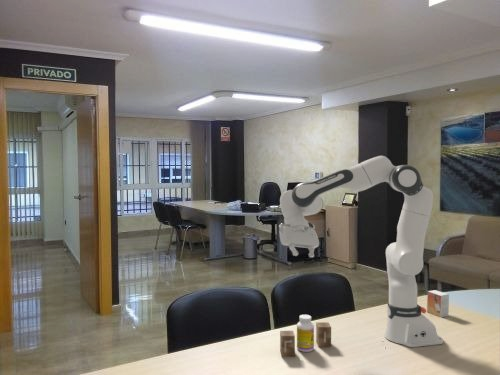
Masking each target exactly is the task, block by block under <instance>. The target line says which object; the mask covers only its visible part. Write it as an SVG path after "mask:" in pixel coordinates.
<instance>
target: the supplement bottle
mask: <svg viewBox="0 0 500 375" xmlns="http://www.w3.org/2000/svg"><path fill="white" fill-rule="evenodd" d="M314 331H315V324H314V323H313V322H312V316H311V315H309V314H300V315H299V321H298V322H297V324H296V349H297V350H298V351H300V352H304V353H310V352H312V351H314V349H315V348H314V347H315V332H314Z"/></svg>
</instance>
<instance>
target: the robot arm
mask: <svg viewBox="0 0 500 375" xmlns="http://www.w3.org/2000/svg"><path fill="white" fill-rule="evenodd" d="M384 182H385V183H386V184H387V185H388V186H389V187H390V188H391V189H392V190H394V191H397V192H398V193H399V192H400V193H402V194H403V197H404V199H403V200H404V201H403V204H402V209H401V212H400V216H399V220H398V223H397V226H396V232H397V233H396V241H395V242H391V243H390V244H388V245H387V247H386V248H385V259H386V272H387V279H388V302H387V307H386V309H387V324H386V328H385V331H384V337H385V338H386V339H387V340H388V341H390V342H392V343H396V344H399V345H404V346H405V347H408V348H418V347H423V346H424V347H427V346H435V345H442V344H444V339H443V337H442V336H441V335H440V334H439V333H438V332H437V331H438V330H437V328H436V325H435V324H434V322H432V321H431V320H430V319H429V318H427V317H426V316H425V315H424V314H426V313H427V308H425V307H422V306H421V305H419V304H418V284H417V281H416V276H417V275H418V274H420V273H421V272H422V270H423V268H424V251H425V250H424V249H425V239H426V233H427V229H428V225H429V223H430V218H431V214H432V210H433V203H434V193H433V191H432V190H431V189H430V188H428V187H426V186H424V184H423V181H422V178H421V174H420V172H419V170H418V169H417V168H416V167H415V166H413V165H411V164H401V165H397V166H396V165H394V164H393V163H392V161H391V160H390V159H389V158H388V157H387V156H385V155H377V156H374V157H372V158H368V159H367V160H366V159H365V160H364V161H361V162H360V163H357V164H355V165H353V166H351V167H348V168H345V169H342V170H341V169H340V170H337V171H334V172H332V173H329V174H327V175H325V176H323V177H320V178H318V179H315V180H311V181H305V182H304V181H303V182H299V183H298V184H296V185H295V187H294V188H293V189H289V190H286V191H284V192H283V193H282V194H281V195H280V198H279V204H280V210H281V214H282V215H283V218H284V219H283V222H284V223H280V224H279V225H278V229H279V231H278V232H279V240H280V244H281V245H283V246H287V247H288V248H289V250H290V251H291V253H292V256H293V257H294V256H295V257H297V256H298V255H300V254H299V251H298V250H297V249H296V248H303V249H304V248H305V249H308V251H309V253H308V254H307V255H308V257H309V258H314V257H315V253H314V252H315V249H316V248H318V247H319V246H320V240H319V237H318V234H317V232H316V230H315V229H316V226H315V225H314V223H313V222H310V221H308V220H307V219H306V218H305V217H308V216H314V215H317V214H318V213H320V212H321V211H322V209H323V206H324V205H323V204H324V203H323V202H324V201H323V200H322V198H321V195H324V194H326V193H328V192H330V191H333V190H335V189H339V188H342V189H343V188H344V189H347V190H349V191H353V192H355V193H359V192H363V191H365V190H368V189H370V188H372V187H374V186H376V185H379V184H381V183H384Z"/></svg>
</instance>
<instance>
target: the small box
mask: <svg viewBox="0 0 500 375" xmlns="http://www.w3.org/2000/svg"><path fill="white" fill-rule="evenodd" d="M426 297H427V298H426V299H427V302H426V303H427V304H426V313H429V314H431V315H434V316H437V317H438V318H443V317H448V316H449V310H450V309H449V306H450V294H449V293H446V292H443V291H439V290H437V289H435V290H434V289H433V290H427V296H426Z"/></svg>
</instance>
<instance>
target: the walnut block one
mask: <svg viewBox="0 0 500 375" xmlns="http://www.w3.org/2000/svg"><path fill="white" fill-rule="evenodd" d="M315 325H316V326H315V327H316V328H315V330H316V331H315V332H316V333H315V334H316V335H315V336H316V337H315V338H316V340H315V341H316V344H317V347H318V348H331V347H332V326H331V324H330V322H329V321H327V322H326V321H325V322H324V321H323V322H316V323H315Z"/></svg>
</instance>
